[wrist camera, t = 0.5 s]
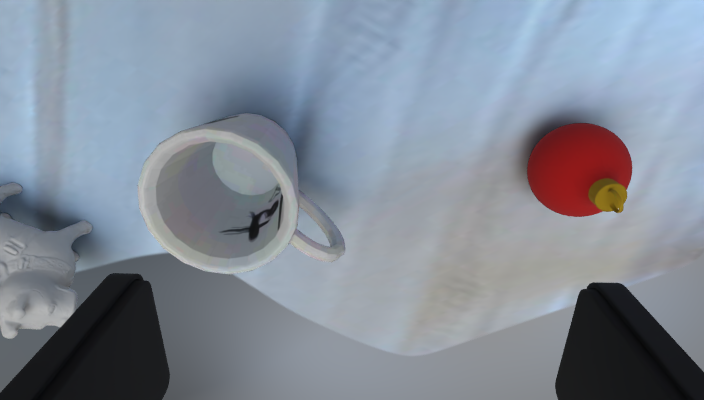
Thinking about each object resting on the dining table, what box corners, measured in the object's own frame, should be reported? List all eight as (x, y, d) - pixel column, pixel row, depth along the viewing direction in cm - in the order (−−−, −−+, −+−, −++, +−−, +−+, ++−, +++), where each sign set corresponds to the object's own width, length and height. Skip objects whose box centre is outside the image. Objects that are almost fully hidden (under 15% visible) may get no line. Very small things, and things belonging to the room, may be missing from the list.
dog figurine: (114, 282, 43) (43, 365, 34) (-20, 217, 41) (-139, 287, 31) (134, 244, 41) (66, 320, 32) (-4, 172, 39) (-125, 231, 29)
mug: (226, 68, 35) (178, 93, 26) (381, 170, 38) (387, 225, 29) (169, 171, 38) (110, 225, 29) (315, 256, 42) (302, 328, 33)
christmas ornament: (507, 130, 36) (556, 174, 27) (596, 100, 35) (678, 136, 26) (524, 204, 39) (573, 267, 30) (607, 178, 38) (685, 236, 29)
